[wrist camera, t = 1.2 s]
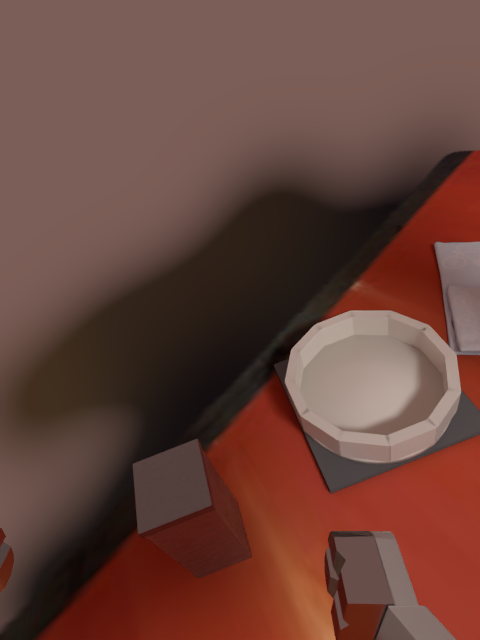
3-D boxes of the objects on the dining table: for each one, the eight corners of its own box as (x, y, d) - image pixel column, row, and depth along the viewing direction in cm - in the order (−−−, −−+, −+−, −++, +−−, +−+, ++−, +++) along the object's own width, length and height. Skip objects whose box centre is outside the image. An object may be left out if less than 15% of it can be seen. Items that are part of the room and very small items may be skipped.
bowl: (397, 316, 49) (398, 291, 46) (492, 426, 37) (501, 402, 35) (273, 364, 49) (266, 342, 46) (330, 490, 37) (325, 471, 34)
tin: (238, 500, 39) (197, 438, 31) (253, 557, 35) (211, 505, 27) (187, 520, 39) (132, 463, 31) (197, 580, 35) (138, 534, 27)
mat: (397, 319, 49) (397, 316, 49) (491, 429, 38) (492, 426, 37) (274, 367, 49) (273, 364, 49) (330, 493, 37) (330, 490, 37)
